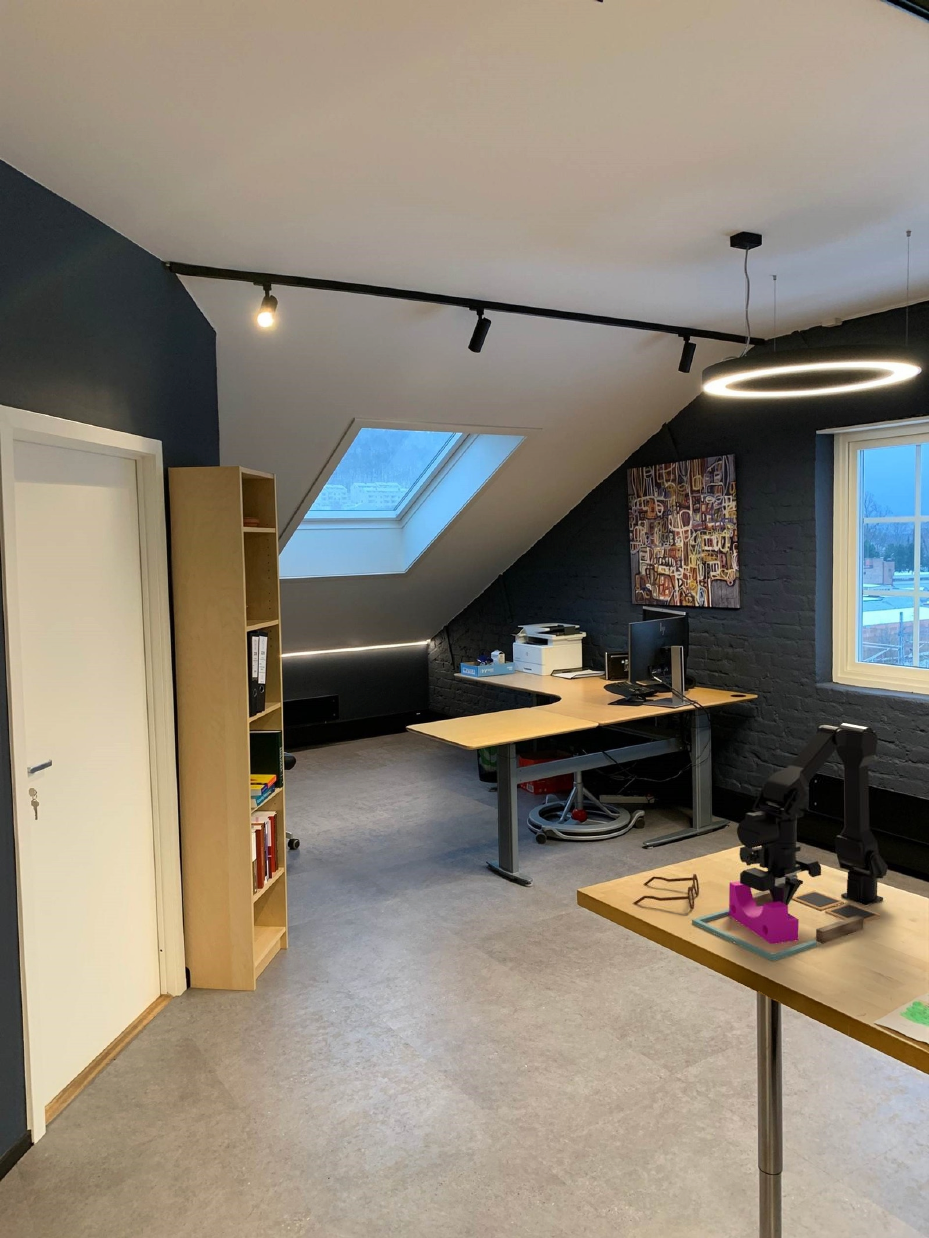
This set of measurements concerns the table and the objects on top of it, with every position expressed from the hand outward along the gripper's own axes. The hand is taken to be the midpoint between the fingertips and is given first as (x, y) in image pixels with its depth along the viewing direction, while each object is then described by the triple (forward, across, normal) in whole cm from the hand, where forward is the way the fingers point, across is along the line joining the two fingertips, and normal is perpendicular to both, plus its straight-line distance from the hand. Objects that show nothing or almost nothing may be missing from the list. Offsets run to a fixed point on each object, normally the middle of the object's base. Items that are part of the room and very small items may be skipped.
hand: (780, 912), depth 188 cm
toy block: (+3, +4, -1) cm, 5 cm away
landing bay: (+3, +8, 0) cm, 8 cm away
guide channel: (+3, -6, 0) cm, 7 cm away
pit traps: (+3, -18, 0) cm, 18 cm away
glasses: (+3, +9, -24) cm, 26 cm away
